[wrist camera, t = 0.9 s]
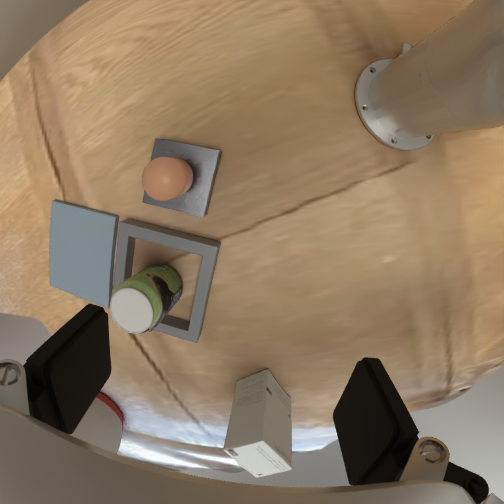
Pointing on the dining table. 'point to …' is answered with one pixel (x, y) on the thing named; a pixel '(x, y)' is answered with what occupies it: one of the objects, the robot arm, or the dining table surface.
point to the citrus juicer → (101, 425)
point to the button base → (203, 176)
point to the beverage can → (145, 299)
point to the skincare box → (260, 426)
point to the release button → (167, 178)
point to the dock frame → (179, 241)
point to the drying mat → (82, 251)
